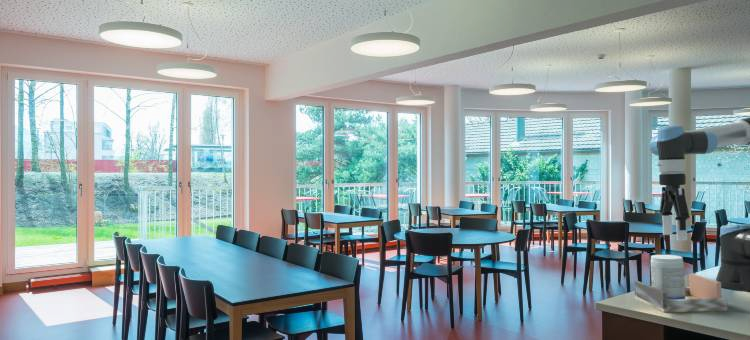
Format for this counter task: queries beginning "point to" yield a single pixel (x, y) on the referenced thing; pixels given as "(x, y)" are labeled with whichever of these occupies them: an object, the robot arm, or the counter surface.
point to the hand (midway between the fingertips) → (674, 237)
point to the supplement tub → (668, 275)
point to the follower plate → (704, 287)
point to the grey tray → (683, 305)
